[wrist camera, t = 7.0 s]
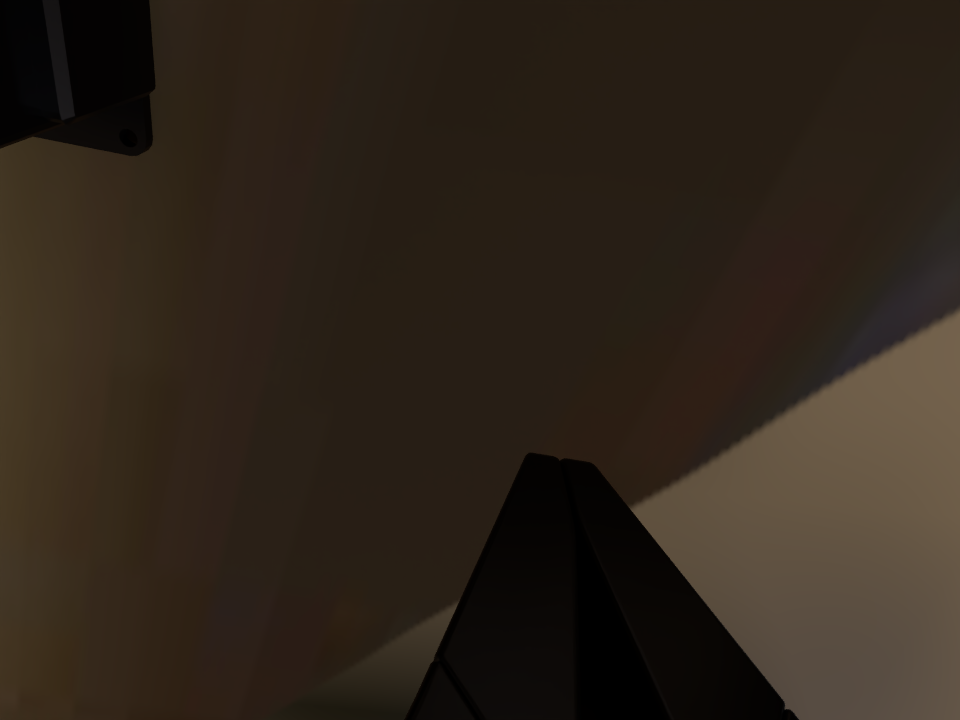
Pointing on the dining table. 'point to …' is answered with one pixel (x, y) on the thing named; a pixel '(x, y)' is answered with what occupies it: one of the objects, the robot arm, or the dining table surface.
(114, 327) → the dining table surface
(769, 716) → the robot arm
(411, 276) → the dining table surface
